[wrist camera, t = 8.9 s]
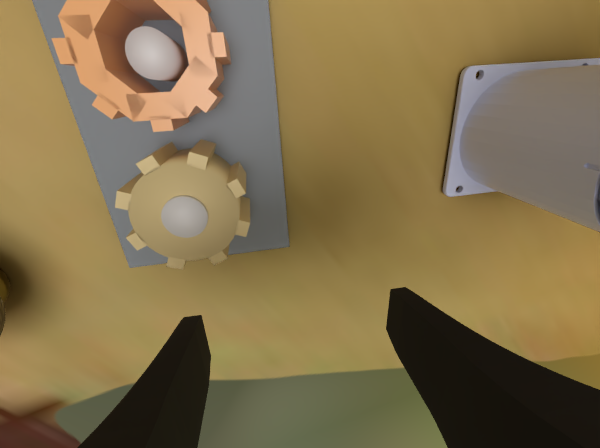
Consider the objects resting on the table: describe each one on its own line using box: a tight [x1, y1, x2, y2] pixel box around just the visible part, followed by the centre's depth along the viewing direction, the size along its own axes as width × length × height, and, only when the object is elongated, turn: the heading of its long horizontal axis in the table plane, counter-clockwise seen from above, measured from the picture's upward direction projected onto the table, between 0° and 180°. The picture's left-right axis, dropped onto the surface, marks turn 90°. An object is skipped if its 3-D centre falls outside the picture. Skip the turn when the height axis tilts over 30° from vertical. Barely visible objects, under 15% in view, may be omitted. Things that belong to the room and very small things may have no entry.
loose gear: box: [51, 0, 231, 132], centre depth 12 cm, size 6×6×4 cm
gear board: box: [32, 0, 289, 270], centre depth 13 cm, size 10×22×5 cm, turn 3°
